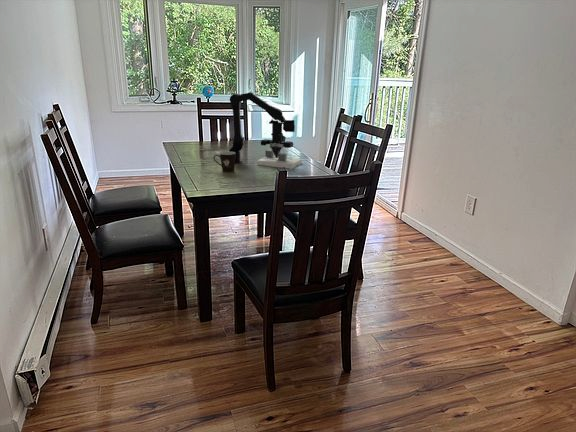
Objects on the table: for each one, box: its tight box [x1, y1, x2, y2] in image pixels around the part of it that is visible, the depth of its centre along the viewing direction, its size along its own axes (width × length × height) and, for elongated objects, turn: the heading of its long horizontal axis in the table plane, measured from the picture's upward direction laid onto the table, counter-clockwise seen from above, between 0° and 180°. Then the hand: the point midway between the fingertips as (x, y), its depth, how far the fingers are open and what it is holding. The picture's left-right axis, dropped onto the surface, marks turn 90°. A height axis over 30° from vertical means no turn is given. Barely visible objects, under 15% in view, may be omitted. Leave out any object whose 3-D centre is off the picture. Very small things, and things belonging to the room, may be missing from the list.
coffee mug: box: [213, 151, 236, 173], centre depth 237 cm, size 12×9×10 cm
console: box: [256, 155, 303, 170], centre depth 257 cm, size 16×22×3 cm
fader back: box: [265, 149, 274, 157], centre depth 263 cm, size 3×4×4 cm
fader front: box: [278, 153, 288, 161], centre depth 254 cm, size 3×4×4 cm
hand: (276, 157), depth 256 cm, fingers closed
